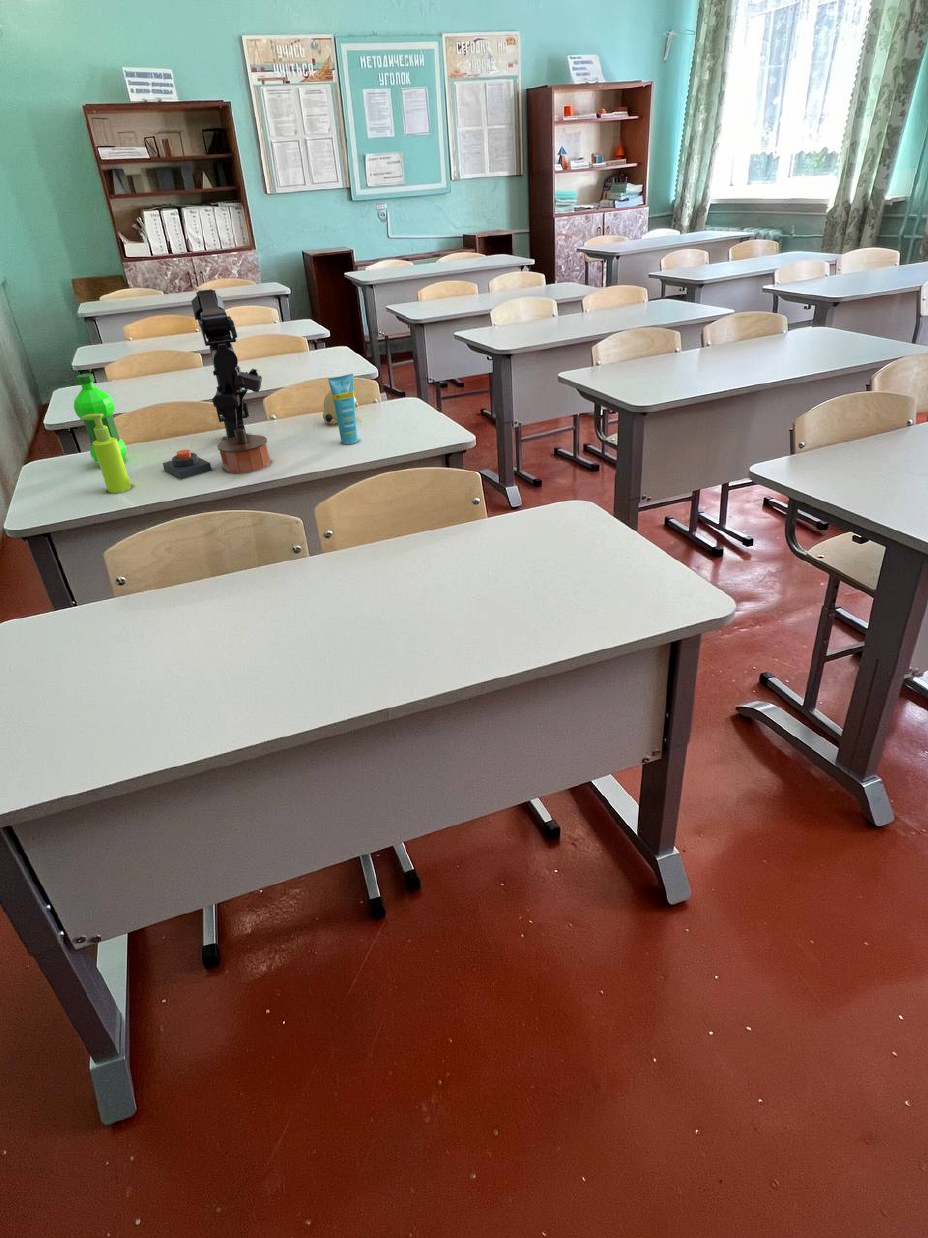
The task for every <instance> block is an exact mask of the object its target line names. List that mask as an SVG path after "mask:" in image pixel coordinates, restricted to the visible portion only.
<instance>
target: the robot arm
mask: <svg viewBox="0 0 928 1238" xmlns="http://www.w3.org/2000/svg"><path fill="white" fill-rule="evenodd" d="M195 293H196V296H195V297H194V298H193V299H192V300H191V301H190V302H191V308H192V312H193V317H194V319H195V320H194V321H197V323H198V326H199V327H200V328H199V329H200V331H201V335H202V339H203V342H204V345H205V347H209V352H210V356H211V361H212V365H213V369H214V370H213V371H212V373H213V374H212V375H213V376H215V378H216V384H217V386H216V392H215V395H214V396H213V397H212V399H211V400H212V404H213V407H214V408H215V410H216V415H217V419H218V422H219V423H222V422H223V424H224V429H225V432H226V433H225V434H226V435H224V436H222V439H223V440H226V439H229V438H233V437H236V435H235V430H236V429H240V428H243V429H244V430H245V435H249V433H247V432H246V427H245V422H244V419H248V417H250V413H249V408H248V403H247V401H245V399H244V397H245V395H246V394H247V393H248V391H252V392H254V393H259V392H260V390H261V387H262V381H263V377H262V375H260V373H259V370H258V369H256V368H251V370H249V372H248V371H245V372H244V371H241V367H240V366H239V365H238V363H239V359H238V357H237V354H236V352H235V351H234V348H233V347H234V346H233V344H232V343H237V338H238V332H237V330H236V326H235V323H234V322H235V321H234V320H233V319H232V317H231V316H229V315H228V314H227V311H226V309H225V304H224V299H223V298H222V296H220V295H219V294H218V293H216V289H211V288H210V289H203V290H198V291H196V292H195Z"/></svg>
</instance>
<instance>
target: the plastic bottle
mask: <svg viewBox="0 0 928 1238" xmlns="http://www.w3.org/2000/svg"><path fill="white" fill-rule="evenodd" d="M76 380H77V384H78V385H80V386H81V389H80V391H79V392H78V394H77V395H76V396H75V398H74V401H73V409H74V412H75V414H76V416H77V417H78V418H79V419H80V418H81V417H82V416H85V415H88V414H103V415H104V416H103V417H102V418H101V420H102V423H103V425H105V426H107V427H108V430H109V433H110V437H113V438H116V439H117V442H118V445H119V448H120V451H121V455H122V458H123V460H124V459H125V458H126V455H127V446H126V443H125V442H124V441H123V439H122V438H120V436H119V432H118V429H117V425H116V422H115V419H114V415H113V414H114V412H115V403H114V399H113V398H112V397H111V394H109V393H107V392H106V391H104V390H102V389H100V388H98V387H96V386H95V384H94V382H95V381H96V380H95V377H94V374H93V373H81V374H79V375H76ZM82 422H83V423H84V427H85V430H86V432H87V436H88V439H89V442H90V450H89V451H90V452H89V453H90V456H91V457H92V459H93V460H94V461H95V462H97V463H98V464H99V462H98V459H97V456H96V453H95V450H94V447H93V444H92V443H93V442H94V441H96V440H97V439H96V436H95V433H94V430H93V429H94V428H95V427H96V424H95V421H94V418H88V419H83V420H82Z"/></svg>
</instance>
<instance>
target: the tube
mask: <svg viewBox="0 0 928 1238" xmlns="http://www.w3.org/2000/svg"><path fill="white" fill-rule="evenodd" d="M327 381H328V384H329V388H330V390H331V392H332V397H333V401H334V406H335V411H336V416H337V421H338V423H337V426H338V432H339V437H340V443H341V444H343V445H353V444H356V443H357V442H358V441H359V438H358V437H359V436H358V428H357V427H358V426H357V417H356V416H357V415H356V411H355V401H354V397H355V386H354V385H355V384H354V373H348V374H344V375H339V376H334V377H328V378H327Z"/></svg>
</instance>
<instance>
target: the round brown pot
mask: <svg viewBox="0 0 928 1238" xmlns="http://www.w3.org/2000/svg"><path fill="white" fill-rule="evenodd" d="M219 453H220V458H221V462H222V463H221V464H222V467H223V469H224V470H225V471H226V472H227V473H232V474H246V473H252V472H256V471H257V472H258V471H260V470H262V469H264V468H267V466H269V465H270V464H271V461H270V455H269V454H270V453H269V449H268V444H267V443H266V444H265V445H264V446H262V447H260V448H257V449H254V450H250V451H246V452H238V453H227V452H222V451H220V450H219Z"/></svg>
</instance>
